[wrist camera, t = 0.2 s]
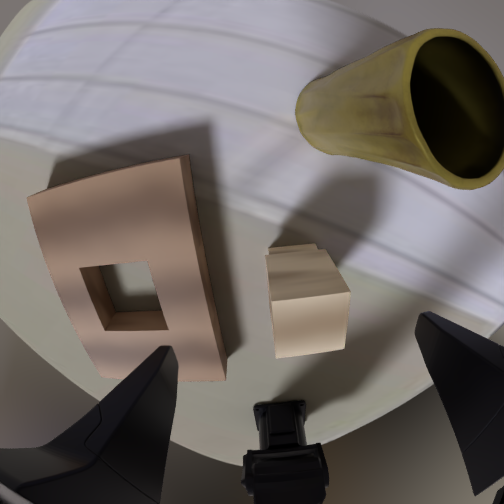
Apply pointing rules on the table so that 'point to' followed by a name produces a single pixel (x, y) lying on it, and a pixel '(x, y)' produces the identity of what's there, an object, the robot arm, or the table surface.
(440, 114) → the vase
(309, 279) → the peg
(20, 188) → the table surface
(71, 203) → the board
